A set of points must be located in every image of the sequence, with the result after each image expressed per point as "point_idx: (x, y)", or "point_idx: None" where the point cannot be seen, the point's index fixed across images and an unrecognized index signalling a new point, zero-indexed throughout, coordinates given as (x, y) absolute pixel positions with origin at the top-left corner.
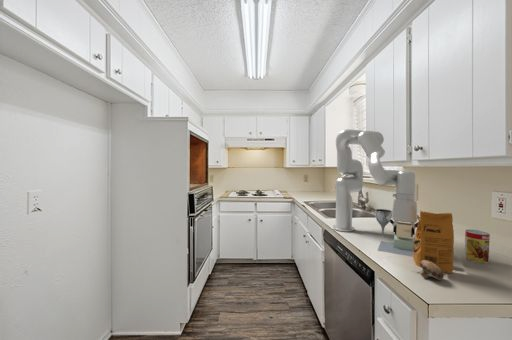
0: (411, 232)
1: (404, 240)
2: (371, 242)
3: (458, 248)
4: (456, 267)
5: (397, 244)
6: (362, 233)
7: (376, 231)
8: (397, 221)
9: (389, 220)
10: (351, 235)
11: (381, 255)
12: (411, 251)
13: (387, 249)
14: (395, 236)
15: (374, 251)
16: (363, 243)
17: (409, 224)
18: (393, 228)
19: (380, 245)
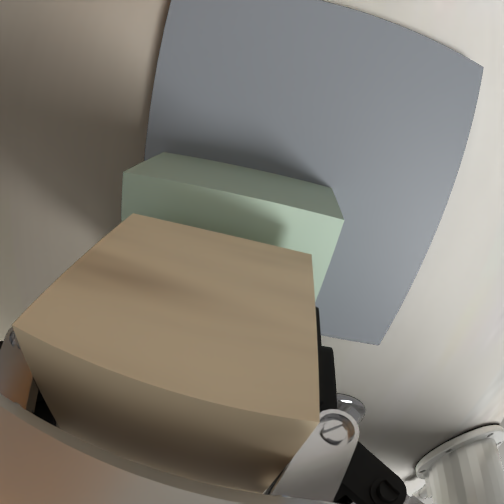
0: None
1: (216, 203)
2: (440, 319)
3: (4, 322)
4: (13, 4)
5: (297, 191)
6: (406, 440)
7: None
8: (275, 494)
9: (400, 501)
10: (483, 395)
11: (450, 8)
12: (182, 124)
13: (402, 108)
14: None
15: (488, 96)
16: (500, 278)
17: (65, 403)
18: (335, 384)
19: (431, 220)
